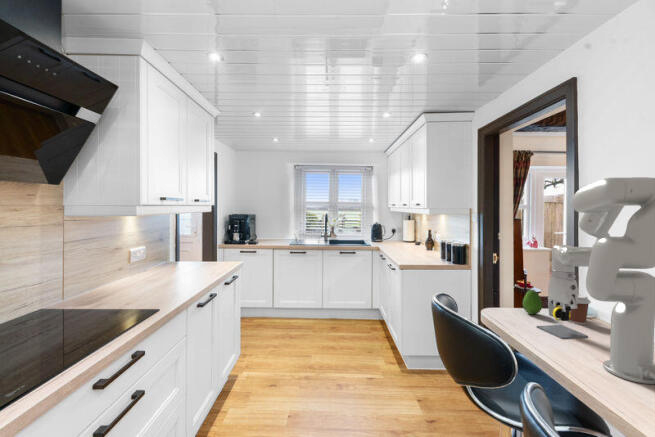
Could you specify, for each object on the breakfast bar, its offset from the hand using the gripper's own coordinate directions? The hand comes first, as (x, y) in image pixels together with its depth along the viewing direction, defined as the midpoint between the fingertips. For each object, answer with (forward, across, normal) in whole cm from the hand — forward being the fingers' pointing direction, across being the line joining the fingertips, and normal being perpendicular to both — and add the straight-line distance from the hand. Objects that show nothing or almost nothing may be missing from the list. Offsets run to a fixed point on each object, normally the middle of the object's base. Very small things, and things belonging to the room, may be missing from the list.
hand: (561, 318), depth 128 cm
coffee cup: (+6, +10, -18) cm, 21 cm away
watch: (+1, 0, 0) cm, 1 cm away
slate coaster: (+5, 0, 0) cm, 5 cm away
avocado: (+6, +22, -6) cm, 23 cm away
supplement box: (+6, +20, -18) cm, 27 cm away
